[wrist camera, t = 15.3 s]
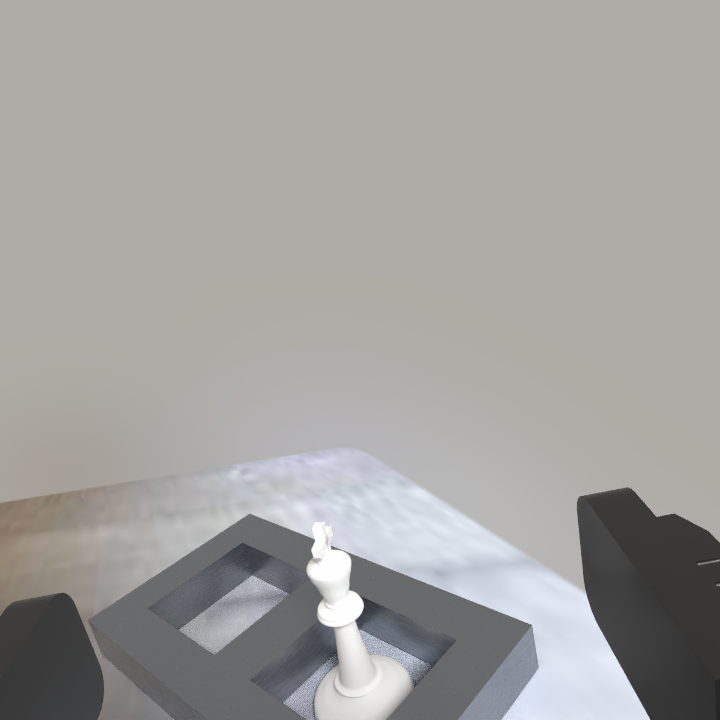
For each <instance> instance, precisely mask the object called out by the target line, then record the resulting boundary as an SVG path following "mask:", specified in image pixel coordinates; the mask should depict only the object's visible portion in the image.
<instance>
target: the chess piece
mask: <svg viewBox="0 0 720 720" xmlns="http://www.w3.org/2000/svg"><path fill="white" fill-rule="evenodd" d="M312 530H313V534H314V538H315V543H314V545H313V547H312V554H313V558H312V559H311V560H310V561H309V563H308V565H307V568H306V572H307V575H308V577H309V579H310V580H311V581H312V583H313V584H314V585H315V586H316V587H317V589H318V590H319V592H320V593H321V595H322V596H323V597H324V599H323V600H322V601H321V602H320V604H319V606H318V612H317V616H318V619H319V621H320V622H321V623H322V624H324V625H326V626H329V627H334V632H335V638H336V645H337V653H338V662H339V664H338V665H337V666H335V667H334V668H333V669H332V670H331V671H330V672H328V674H327V675H326V676H325V677H324V678H323V680H322V681H321V683H320V684H319V686H318V688H317V691H316V694H315V698H314V710H315V720H387V718H388V717H389V716H390V715H391V714H392V713H393V712H394V710H395V709H396V708H397V707H398V706H399V705H400V704H401V703H402V701H403V700H404V699H405V698H406V697H407V696H408V695H409V694H410V692H411V691H412V690H413V689H414V688H415V686H414V684H413V682H412V680H411V677H410V675H409V673H408V671H407V670H406V668H405V667H404V666H403V665H402V664H401V663H399V662H398V661H396V660H395V659H393V658H390V657H388V656H384V655H378V654H369V653H368V651H367V648H366V646H365V644H364V641H363V639H362V637H361V634H360V632H359V629H358V627H357V624H356V621H355V620H356V619H357V618H358V617H359V616H360V614H361V613H362V611H363V608H364V603H363V600H362V599H361V598H360V596H359V595H358V594H357V593H356V592H353V591H350V590H349V579H350V573H351V558H350V556H349V555H348V554H347V553H346V552H344V551H341V550H331V546H330V541H331V538H332V536H333V532H332V528H331V526H325V523H324V522H317V523H314V525H313V528H312Z"/></svg>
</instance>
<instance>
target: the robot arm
mask: <svg viewBox="0 0 720 720" xmlns="http://www.w3.org/2000/svg"><path fill="white" fill-rule="evenodd" d="M577 514H578V525H579V534H580V545H581V556H582V565H583V576H584V583H585V589H586V593H587V597H588V601H589V604H590V607H591V610H592V612H593V615H594V617H595V620H596V622H597V624H598V626H599V627H600V629H601V631H602V633H603V635H604V636H605V638H606V640H607V642H608V644H609V646H610V647H611V649H612V651H613V653H614V655H615V656H616V658H617V660H618V662H619V664H620V665H621V667H622V669H623V671H624V673H625V674H626V676H627V678H628V680H629V682H630V683H631V685H632V687H633V689H634V691H635V692H636V694H637V696H638V698H639V700H640V702H641V703H642V705H643V707H644V709H645V711H646V712H647V714H648V716H649V718H650V720H720V543H719V542H718V541H717V540H716V539H715V538H714V537H713V536H712V535H711V533H710V532H709V531H707V530H705V529H703V528H701V527H699V526H697V525H695V524H693V523H692V522H690V521H688V520H686V519H684V518H682V517H680V516H678V515H676V514H670V515H665V516H660V517H656V516H655V515H654V514H653V512H652V511H651V510H650V509H649V508H648V507H647V506H646V505H645V503H644V502H643V501H642V500H641V499H640V498H639V497H638V495H637V494H636V493H635V492H634V491H633V490H632V489H630V488H622V489H617V490H611V491H606V492H601V493H595V494H590V495H585V496H580V497H579V498H578V501H577ZM103 695H104V681H103V674H102V670H101V667H100V664H99V662H98V660H97V657H96V655H95V652H94V650H93V647H92V645H91V642H90V640H89V637H88V635H87V633H86V630H85V628H84V625H83V623H82V620H81V618H80V615H79V613H78V611H77V608H76V606H75V604H74V602H73V600H72V599H71V597H70V596H69V595H67V594H65V593H58V594H53V595H47V596H42V597H37V598H32V599H26V600H21V601H16V602H13V603H11V604H10V605H9V606H8V607H7V608H6V609H5V611H4V612H3V613H2V615H1V616H0V720H97V719H98V717H99V714H100V711H101V708H102V703H103Z"/></svg>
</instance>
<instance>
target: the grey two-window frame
mask: <svg viewBox="0 0 720 720" xmlns="http://www.w3.org/2000/svg"><path fill="white" fill-rule="evenodd" d="M314 543H315V539H312V538H310V537H307V536H305V535H302V534H300V533H297V532H294V531H292V530H289V529H287V528H284V527H282V526H279V525H277V524H274V523H272V522H269V521H267V520H264V519H262V518H259V517H256V516H254V515H251V514H249V515H247V516H246V517H244V518H243V519H241V520H240V521H238V522H236V523H235V524H233V525H232V526H230V527H229V528H227V529H226V530H224V531H223V532H221V533H220V534H218V535H217V536H215V537H214V538H212V539H211V540H209V541H208V542H206V543H205V544H203V545H202V546H200V547H199V548H197V549H195V550H194V551H192V552H191V553H189V554H188V555H186V556H185V557H183V558H182V559H180V560H179V561H177V562H176V563H174V564H173V565H171V566H170V567H168V568H167V569H165V570H164V571H162V572H161V573H159V574H158V575H156V576H155V577H153V578H151V579H150V580H148V581H147V582H145V583H144V584H142V585H141V586H139V587H138V588H136V589H135V590H133V591H132V592H130V593H129V594H127V595H126V596H124V597H123V598H121V599H120V600H118V601H117V602H115V603H114V604H112V605H111V606H109V607H107V608H106V609H104V610H103V611H101V612H100V613H98V614H97V615H95V616H94V617H92V618H91V619H89V620H88V621H89V623H90V626H91V628H92V631H93V633H94V636H95V638H96V640H97V643H98V645H99V648H100V650H101V653H102V655H104V656H105V657H106V658H107V659H108V660H109V661H110V662H111V663H112V664H114V665H115V666H116V667H117V668H118V669H119V670H120V671H121V672H123V673H124V674H125V675H126V676H127V677H128V678H129V679H130V680H131V681H133V682H134V683H135V684H136V685H137V686H138V687H139V688H140V689H142V690H143V691H144V692H145V693H146V694H147V695H148V696H149V697H151V698H152V699H153V700H154V701H155V702H156V703H157V704H158V705H159V706H161V707H162V708H163V709H164V710H165V711H166V712H167V713H168V714H170V715H171V716H172V717H173V718H174V719H175V720H306V719H304V718H303V717H302V716H300V715H299V714H297V713H296V712H294V711H293V710H292V709H290V708H289V707H287V706H286V705H284V704H283V702H284V701H285V700H286V699H287V698H288V697H289V696H290V695H291V694H292V693H293V692H294V691H295V690H296V689H297V688H298V687H299V686H301V685H302V684H303V683H304V682H305V681H306V680H307V679H308V678H309V677H310V676H311V675H312V674H313V673H314V672H315V671H316V670H317V669H318V668H320V667H321V666H322V665H323V664H324V663H325V662H326V661H327V660H328V659H329V658H330V657H331V656H332V655H333V654H334V653H335V652H336V651H337V645H336V638H335V632H334V627H329V626H326V625H324V624H322V623H321V622H320V621H319V619H318V616H317V612H318V606H319V604H320V602H321V601H322V600H323V599H324V597H323V596H322V595H321V593H320V592H319V590H318V589H317V587H316V586H315V585H314V584H313V583H312V581H311V580H310V579H309V577H308V575H307V572H306V568H307V565H308V563H309V561H310V560H311V559H312V558H313V554H312V547H313V545H314ZM331 550H340V549H338V548H335V547H333V546H331ZM341 551H343V550H341ZM344 552H345V551H344ZM346 553H347V554H348V555H349V556H350V558H351V573H350V579H349V590H350V591H353V592H356V593H357V594H358V595H359V596H360V598H361V599H362V600H363V603H364V608H363V611H362V613H361V614H360V616H359V617H358V618H357V619H356V620H355V621H356V624H357V627H358V629H359V630H360V629H362V630H364V631H366V632H367V633H369V634H371V635H373V636H375V637H377V638H379V639H381V640H383V641H385V642H387V643H389V644H391V645H393V646H395V647H397V648H399V649H401V650H403V651H405V652H407V653H409V654H411V655H413V656H415V657H417V658H419V659H421V660H423V661H425V662H427V663H429V664H431V665H433V667H432V669H431V670H430V671H429V672H428V673H427V674H426V675H425V677H424V678H423V679H422V680H421V681H420V682H419V683H418V684H417V686H416V687H415V688H414V689H413V690H412V691H411V692H410V694H409V695H408V696H407V697H406V698H405V699H404V700H403V701H402V703H401V704H400V705H399V706H398V707H397V708H396V709H395V710H394V712H393V713H392V714H391V715H390V716H389V717H388V718H387V720H501V719H502V717H503V716H504V715H505V713H506V712H507V711H508V709H509V708H510V706H511V705H512V704H513V702H514V701H515V699H516V698H517V697H518V695H519V694H520V693H521V691H522V690H523V688H524V687H525V686H526V684H527V683H528V681H529V680H530V679H531V677H532V676H533V675H534V673H535V672H536V670H537V669H538V668H539V667H538V661H537V654H536V648H535V641H534V635H533V628H532V625H530V624H528V623H525V622H523V621H520V620H518V619H515V618H513V617H510V616H508V615H505V614H502V613H500V612H497V611H495V610H492V609H490V608H487V607H485V606H482V605H480V604H477V603H475V602H472V601H469V600H467V599H464V598H462V597H459V596H457V595H454V594H452V593H449V592H447V591H444V590H442V589H439V588H437V587H434V586H431V585H429V584H426V583H424V582H421V581H419V580H416V579H414V578H411V577H409V576H406V575H404V574H401V573H398V572H396V571H393V570H391V569H388V568H386V567H383V566H381V565H378V564H376V563H373V562H371V561H368V560H366V559H363V558H360V557H358V556H355V555H353V554H350V553H348V552H346ZM251 575H254V576H256V577H258V578H260V579H262V580H264V581H266V582H268V583H270V584H272V585H274V586H276V587H278V588H280V589H282V590H284V591H286V592H288V593H290V595H289V596H287V597H286V598H285V599H284V600H282V601H281V602H280V603H279V604H277V605H276V606H275V607H274V608H273V609H271V610H270V611H269V612H268V613H266V614H265V615H264V616H263V617H261V618H260V619H259V620H258V621H256V622H255V623H254V624H253V625H251V626H250V627H249V628H248V629H247V630H245V631H244V632H243V633H242V634H240V635H239V636H238V637H237V638H235V639H234V640H233V641H232V642H230V643H229V644H228V645H227V646H225V647H224V648H223V649H222V650H220V651H219V652H218V653H217V654H216V655H213V654H212V653H210V652H209V651H207V650H206V649H204V648H203V647H202V646H200V645H199V644H197V643H196V642H194V641H193V640H192V639H190V638H189V637H187V636H186V635H184V634H183V633H182V632H180V631H179V630H178V629H179V628H181V627H182V626H184V625H185V624H186V623H188V622H189V621H190V620H192V619H193V618H194V617H196V616H197V615H198V614H200V613H201V612H202V611H204V610H205V609H206V608H208V607H209V606H211V605H212V604H213V603H215V602H216V601H217V600H219V599H220V598H221V597H223V596H224V595H225V594H227V593H228V592H229V591H231V590H232V589H233V588H235V587H236V586H238V585H239V584H240V583H242V582H243V581H244V580H246V579H247V578H248V577H250V576H251Z"/></svg>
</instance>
